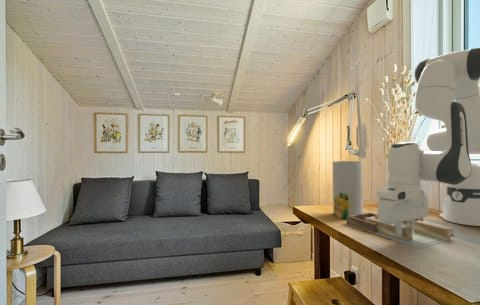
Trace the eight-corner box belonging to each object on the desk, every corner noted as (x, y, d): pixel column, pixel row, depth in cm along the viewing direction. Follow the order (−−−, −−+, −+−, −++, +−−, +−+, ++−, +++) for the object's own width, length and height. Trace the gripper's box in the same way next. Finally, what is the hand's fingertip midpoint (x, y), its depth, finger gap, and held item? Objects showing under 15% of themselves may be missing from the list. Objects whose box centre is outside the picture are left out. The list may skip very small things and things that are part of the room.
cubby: (369, 219, 106) (369, 212, 106) (398, 227, 95) (398, 219, 95) (346, 223, 101) (346, 216, 101) (374, 232, 90) (374, 224, 90)
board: (378, 221, 109) (378, 217, 109) (456, 243, 83) (456, 238, 83) (345, 227, 101) (345, 223, 101) (419, 253, 75) (419, 248, 75)
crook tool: (380, 224, 100) (380, 215, 100) (424, 236, 85) (424, 225, 85) (364, 227, 96) (364, 217, 96) (407, 240, 81) (407, 229, 81)
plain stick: (418, 230, 92) (418, 220, 92) (450, 239, 83) (450, 228, 82) (413, 231, 91) (413, 221, 91) (446, 240, 82) (445, 229, 82)
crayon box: (334, 218, 114) (333, 192, 114) (340, 218, 115) (340, 192, 114) (342, 223, 107) (341, 195, 107) (349, 223, 107) (348, 195, 107)
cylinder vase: (332, 217, 116) (332, 162, 115) (334, 211, 127) (333, 161, 127) (363, 220, 111) (362, 162, 110) (361, 213, 122) (361, 161, 122)
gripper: (414, 187, 91) (415, 226, 91) (373, 192, 82) (373, 235, 83) (434, 190, 85) (434, 231, 85) (391, 195, 77) (392, 241, 77)
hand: (404, 233), depth 84 cm, fingers closed on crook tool, 3 cm apart
